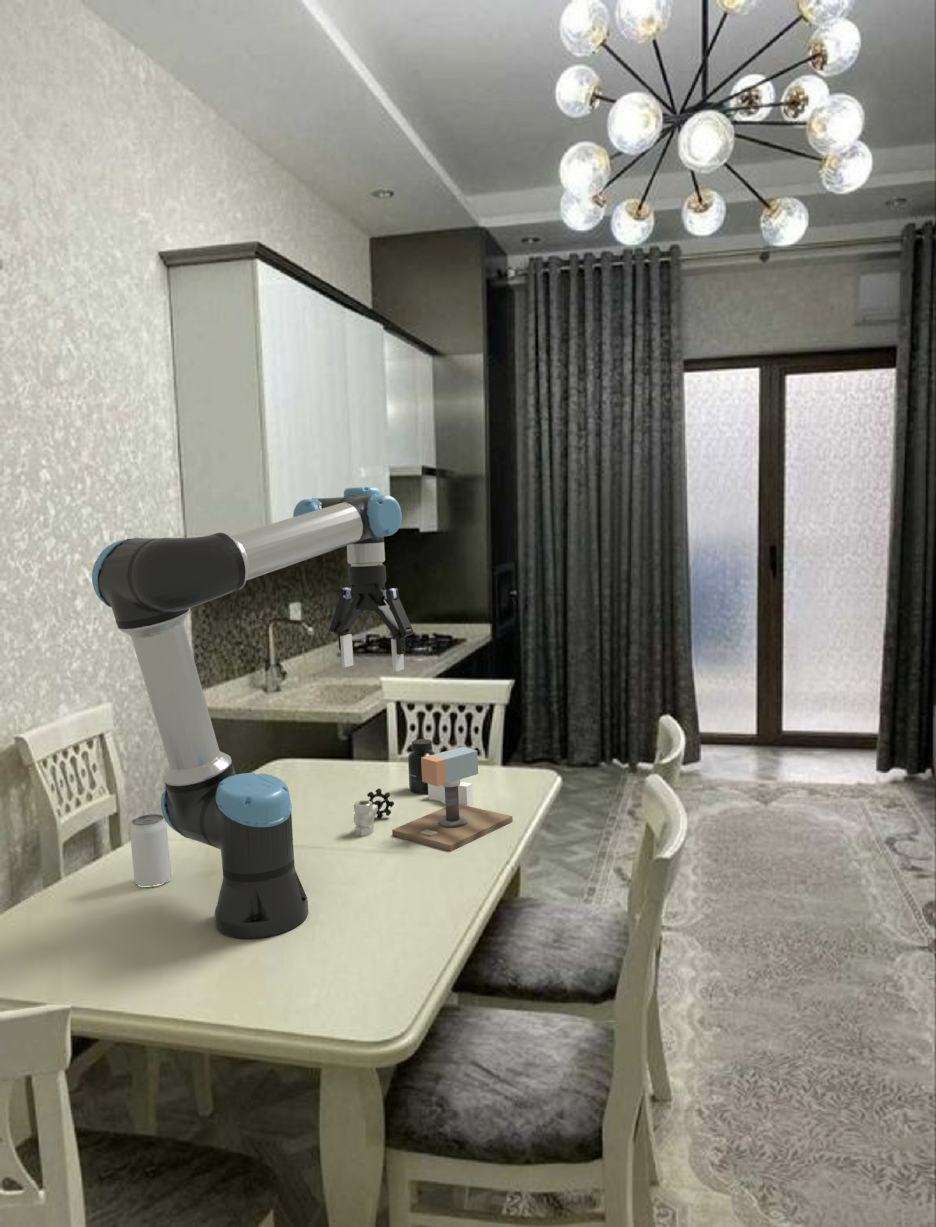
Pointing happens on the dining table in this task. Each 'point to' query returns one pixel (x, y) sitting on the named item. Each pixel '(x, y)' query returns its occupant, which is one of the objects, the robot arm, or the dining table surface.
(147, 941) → the dining table surface
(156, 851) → the can
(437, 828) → the board
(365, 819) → the valve
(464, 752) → the blue-orange block
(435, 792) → the white stepped block
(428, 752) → the supplement bottle
